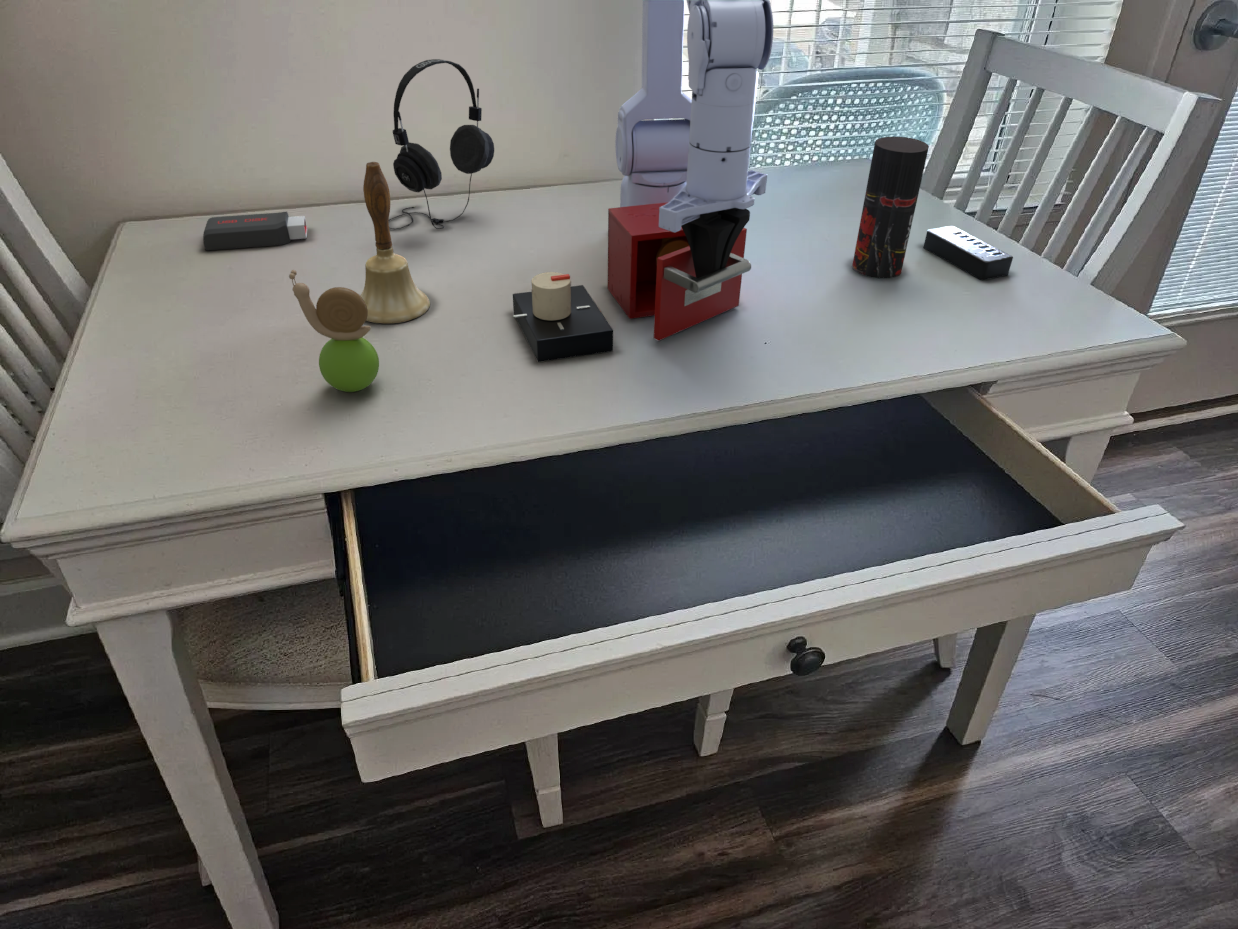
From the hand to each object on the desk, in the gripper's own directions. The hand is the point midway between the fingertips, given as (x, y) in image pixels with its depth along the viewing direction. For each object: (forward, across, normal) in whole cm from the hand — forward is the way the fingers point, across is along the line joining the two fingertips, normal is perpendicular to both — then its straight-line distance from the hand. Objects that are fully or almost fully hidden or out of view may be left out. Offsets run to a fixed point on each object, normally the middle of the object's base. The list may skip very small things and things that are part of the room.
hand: (708, 279), depth 90 cm
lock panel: (+7, -9, +12) cm, 17 cm away
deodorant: (+7, +29, -4) cm, 30 cm away
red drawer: (+6, +2, 0) cm, 7 cm away
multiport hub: (+7, +39, -11) cm, 41 cm away
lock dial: (+4, -10, +12) cm, 17 cm away
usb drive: (+7, -18, +57) cm, 61 cm away
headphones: (+7, +2, +47) cm, 47 cm away
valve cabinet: (+7, +5, +9) cm, 13 cm away
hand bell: (+7, -18, +30) cm, 35 cm away
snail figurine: (+7, -31, +19) cm, 37 cm away
